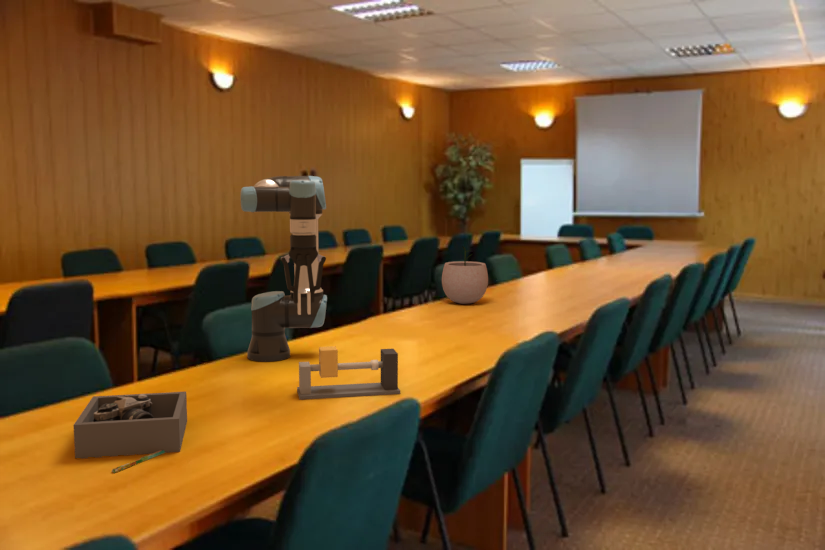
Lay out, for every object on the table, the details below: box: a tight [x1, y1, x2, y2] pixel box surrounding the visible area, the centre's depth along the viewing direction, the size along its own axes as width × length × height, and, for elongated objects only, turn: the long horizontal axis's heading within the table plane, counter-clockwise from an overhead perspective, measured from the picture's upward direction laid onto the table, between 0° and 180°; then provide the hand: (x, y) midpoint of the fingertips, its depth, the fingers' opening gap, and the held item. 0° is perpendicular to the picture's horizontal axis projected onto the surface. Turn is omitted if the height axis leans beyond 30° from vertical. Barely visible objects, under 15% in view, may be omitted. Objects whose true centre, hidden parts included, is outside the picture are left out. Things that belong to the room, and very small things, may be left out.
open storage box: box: [72, 391, 188, 459], centre depth 185 cm, size 23×23×8 cm
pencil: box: [111, 450, 165, 474], centre depth 172 cm, size 1×1×18 cm
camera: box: [93, 393, 154, 422], centre depth 186 cm, size 16×10×10 cm, turn 147°
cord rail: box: [296, 348, 401, 400], centre depth 226 cm, size 30×10×12 cm, turn 103°
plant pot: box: [441, 245, 489, 305], centre depth 387 cm, size 24×24×30 cm
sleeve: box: [318, 345, 339, 379], centre depth 224 cm, size 5×5×8 cm
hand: (304, 313), depth 221 cm, fingers open, 2 cm apart
